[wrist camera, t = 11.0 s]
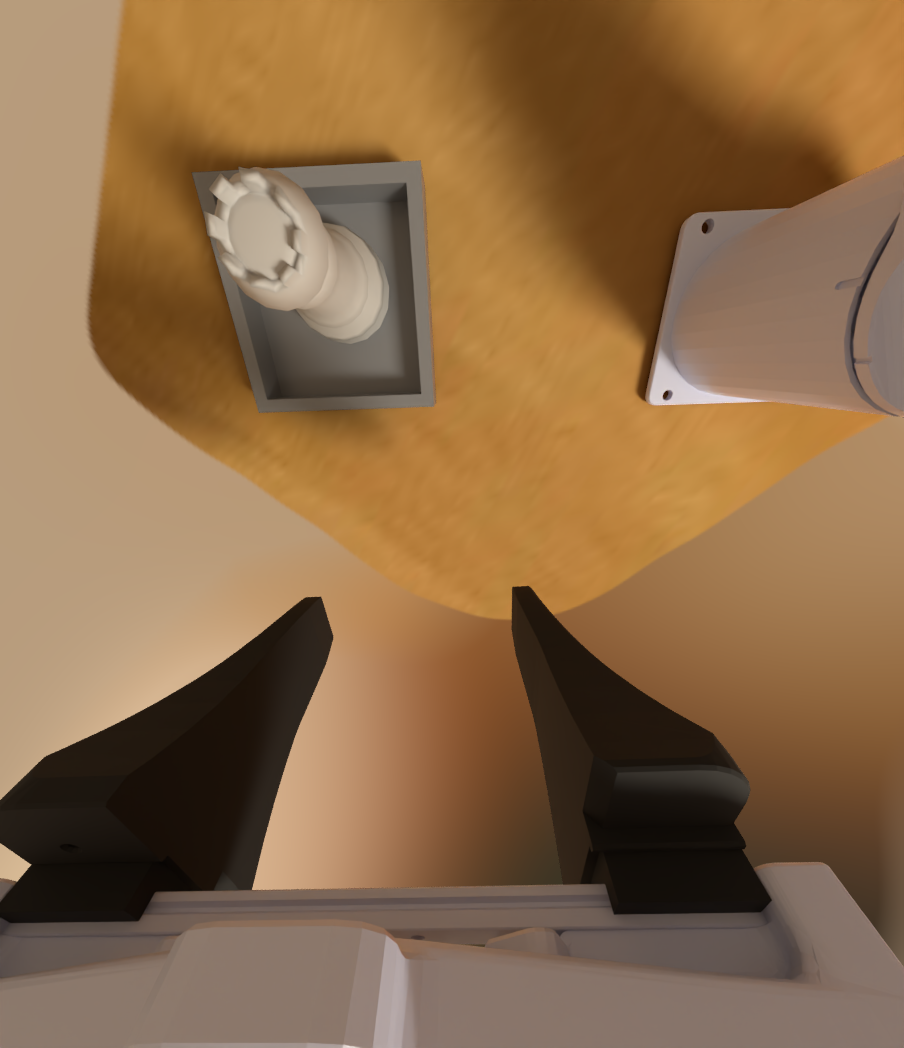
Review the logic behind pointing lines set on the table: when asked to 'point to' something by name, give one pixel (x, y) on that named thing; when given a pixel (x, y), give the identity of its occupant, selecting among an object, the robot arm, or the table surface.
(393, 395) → the tray
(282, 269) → the rook chess piece
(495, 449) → the table surface
